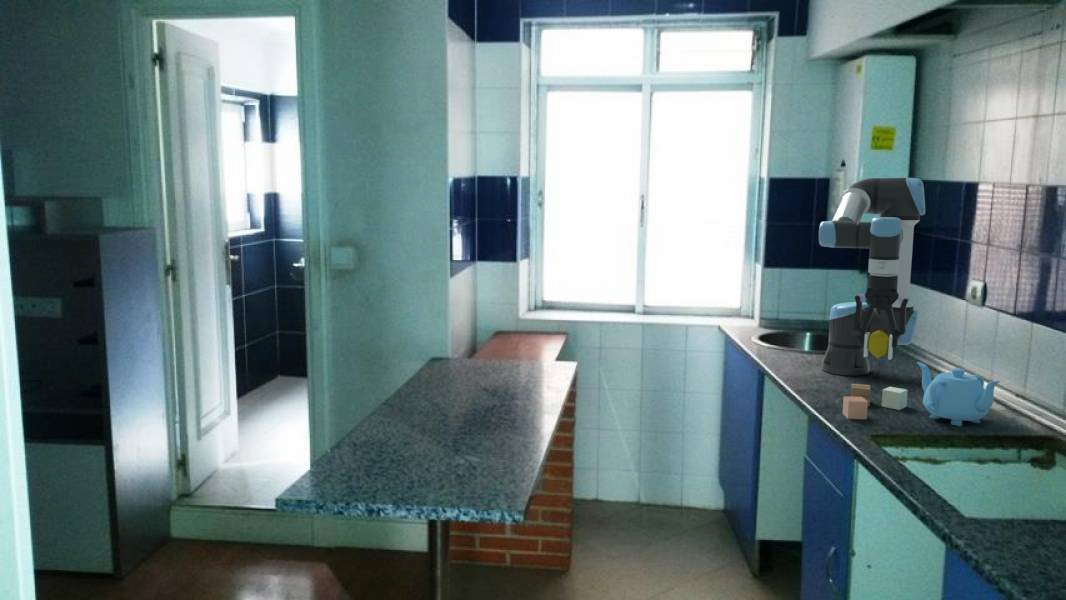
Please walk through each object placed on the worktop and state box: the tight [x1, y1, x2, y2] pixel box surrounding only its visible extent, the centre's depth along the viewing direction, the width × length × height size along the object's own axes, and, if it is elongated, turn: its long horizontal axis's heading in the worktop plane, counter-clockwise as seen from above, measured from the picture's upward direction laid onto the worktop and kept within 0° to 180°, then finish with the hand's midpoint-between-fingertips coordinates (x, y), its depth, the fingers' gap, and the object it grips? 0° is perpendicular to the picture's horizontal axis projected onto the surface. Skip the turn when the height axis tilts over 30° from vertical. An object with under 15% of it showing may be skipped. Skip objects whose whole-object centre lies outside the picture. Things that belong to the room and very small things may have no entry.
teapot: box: [916, 361, 1001, 427], centre depth 214 cm, size 16×20×14 cm
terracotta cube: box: [842, 395, 869, 420], centre depth 218 cm, size 5×5×5 cm
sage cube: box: [881, 386, 908, 411], centre depth 227 cm, size 5×5×5 cm
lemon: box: [868, 330, 889, 359], centre depth 220 cm, size 6×6×8 cm
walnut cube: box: [850, 383, 872, 407], centre depth 231 cm, size 5×5×5 cm
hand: (877, 357), depth 220 cm, fingers closed on lemon, 5 cm apart
